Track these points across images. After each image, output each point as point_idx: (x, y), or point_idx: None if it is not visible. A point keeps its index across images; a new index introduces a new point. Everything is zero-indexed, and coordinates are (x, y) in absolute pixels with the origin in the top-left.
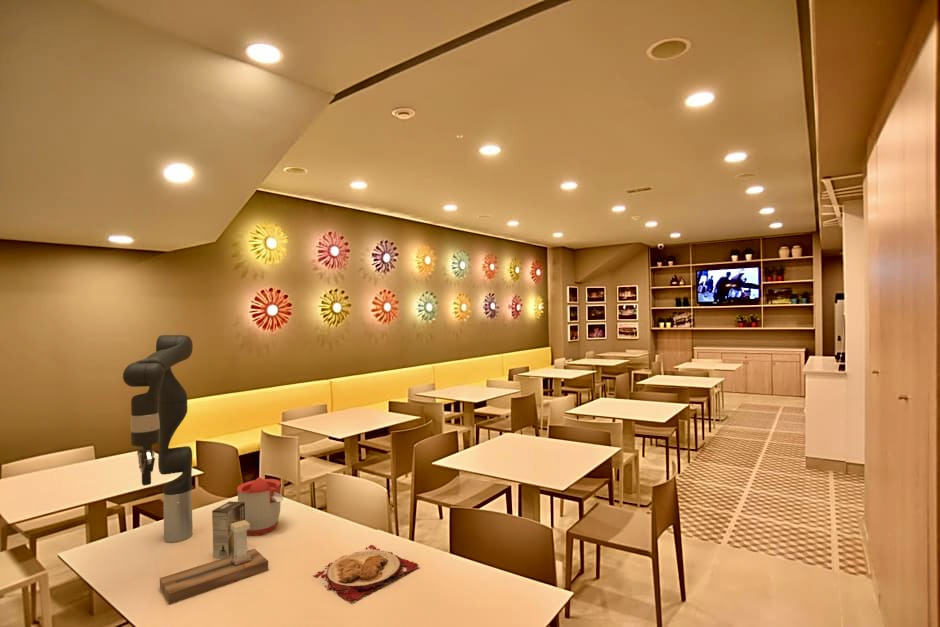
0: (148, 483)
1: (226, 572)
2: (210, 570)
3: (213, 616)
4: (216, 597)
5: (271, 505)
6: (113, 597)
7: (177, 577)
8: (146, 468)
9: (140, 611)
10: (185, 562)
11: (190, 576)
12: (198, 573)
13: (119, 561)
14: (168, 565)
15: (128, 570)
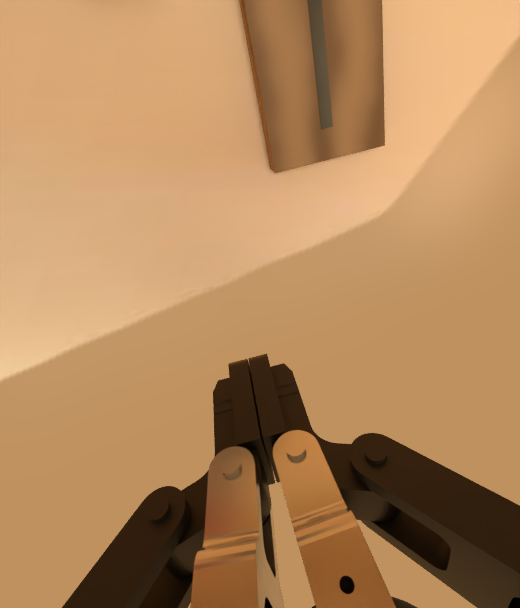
0: (271, 369)
1: None
2: (315, 6)
3: (510, 28)
4: (421, 7)
5: None
6: (260, 263)
7: (300, 122)
8: (389, 514)
9: (360, 204)
10: (128, 95)
11: (319, 82)
12: (309, 53)
13: (53, 278)
14: (131, 150)
15: (123, 251)
